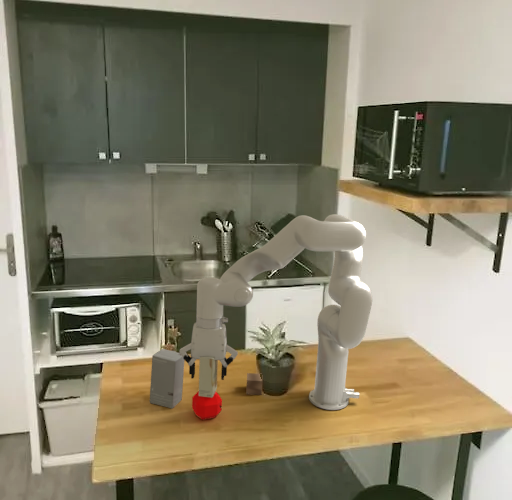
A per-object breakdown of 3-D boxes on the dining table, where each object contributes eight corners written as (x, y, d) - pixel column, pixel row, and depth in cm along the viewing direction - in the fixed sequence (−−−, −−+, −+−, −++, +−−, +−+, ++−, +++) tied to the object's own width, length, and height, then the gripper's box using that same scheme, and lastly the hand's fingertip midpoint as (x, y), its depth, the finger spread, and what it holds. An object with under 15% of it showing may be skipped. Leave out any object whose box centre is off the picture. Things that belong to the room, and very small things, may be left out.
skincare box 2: (212, 398, 151) (213, 359, 148) (198, 396, 152) (198, 357, 149) (217, 387, 157) (218, 350, 154) (203, 386, 158) (204, 348, 155)
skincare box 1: (149, 403, 161) (149, 356, 157) (160, 393, 168) (161, 347, 164) (173, 409, 158) (174, 361, 155) (184, 398, 165) (185, 352, 161)
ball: (223, 420, 154) (224, 396, 152) (197, 424, 151) (198, 400, 149) (215, 406, 161) (215, 383, 160) (190, 410, 158) (190, 387, 157)
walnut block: (261, 387, 174) (262, 373, 173) (261, 395, 170) (262, 381, 168) (246, 386, 174) (247, 373, 173) (246, 394, 170) (246, 380, 168)
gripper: (240, 317, 153) (238, 372, 157) (180, 314, 153) (180, 369, 157) (239, 327, 146) (237, 384, 150) (177, 324, 146) (176, 381, 150)
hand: (207, 376), depth 153 cm, fingers open, 8 cm apart
